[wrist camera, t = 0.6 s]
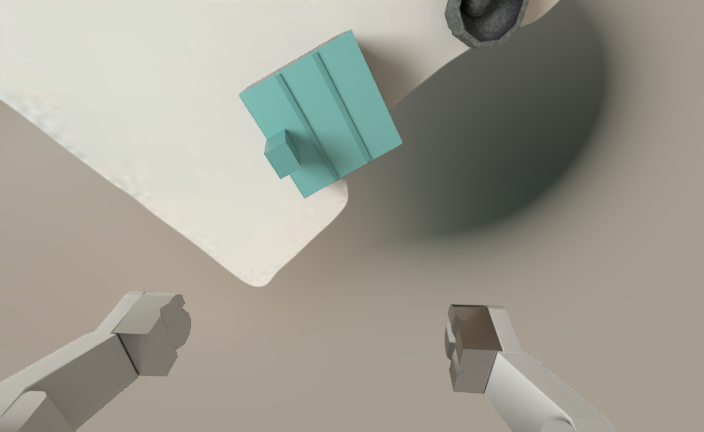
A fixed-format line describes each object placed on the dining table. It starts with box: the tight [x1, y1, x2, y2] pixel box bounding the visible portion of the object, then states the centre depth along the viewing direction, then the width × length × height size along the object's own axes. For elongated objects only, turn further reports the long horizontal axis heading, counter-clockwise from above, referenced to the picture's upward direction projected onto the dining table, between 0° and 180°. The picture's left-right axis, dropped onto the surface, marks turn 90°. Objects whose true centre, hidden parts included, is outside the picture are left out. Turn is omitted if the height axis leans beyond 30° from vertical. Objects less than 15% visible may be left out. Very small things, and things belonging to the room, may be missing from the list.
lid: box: [239, 30, 403, 198], centre depth 39 cm, size 14×14×8 cm
